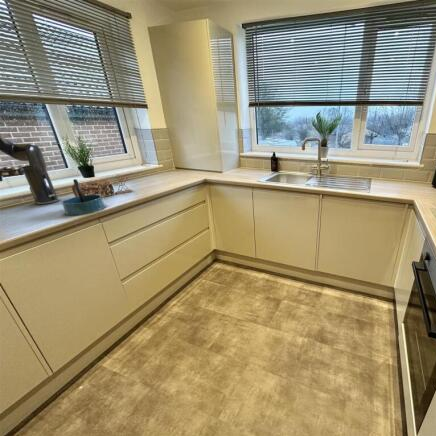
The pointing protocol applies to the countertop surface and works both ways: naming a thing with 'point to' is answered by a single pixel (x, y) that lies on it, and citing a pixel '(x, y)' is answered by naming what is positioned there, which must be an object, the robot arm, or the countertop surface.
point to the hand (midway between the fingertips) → (36, 168)
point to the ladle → (79, 190)
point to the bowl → (83, 205)
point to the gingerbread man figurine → (121, 185)
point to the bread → (95, 188)
